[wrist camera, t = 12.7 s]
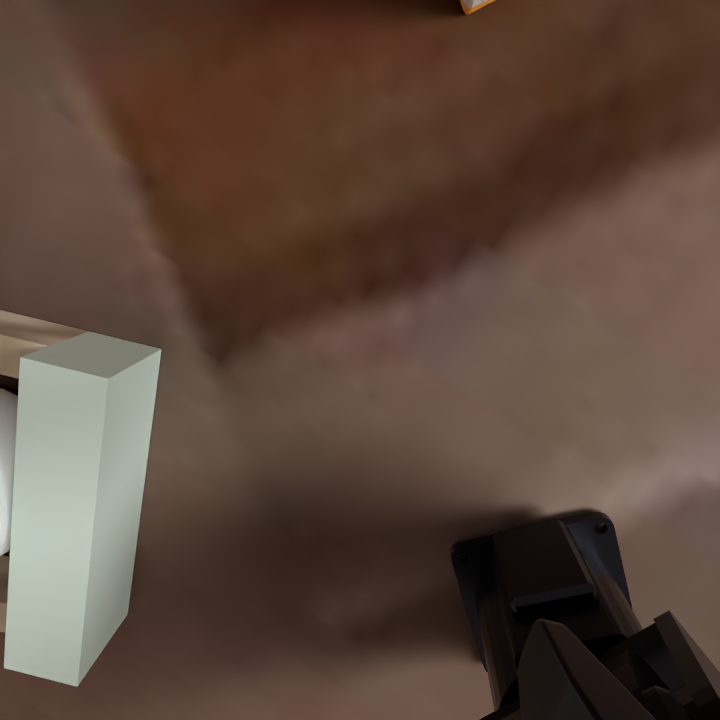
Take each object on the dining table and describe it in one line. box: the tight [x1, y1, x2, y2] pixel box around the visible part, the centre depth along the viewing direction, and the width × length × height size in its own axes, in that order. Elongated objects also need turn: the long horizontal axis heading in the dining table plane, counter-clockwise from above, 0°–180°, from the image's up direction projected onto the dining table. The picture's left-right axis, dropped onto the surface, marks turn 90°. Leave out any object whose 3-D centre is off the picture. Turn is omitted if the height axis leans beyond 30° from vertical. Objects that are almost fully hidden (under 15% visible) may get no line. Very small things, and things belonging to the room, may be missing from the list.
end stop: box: [4, 332, 162, 687], centre depth 21 cm, size 3×13×4 cm, turn 167°
